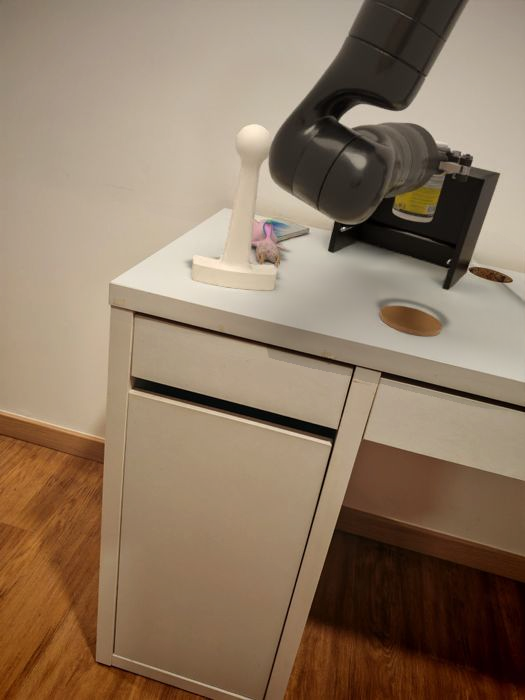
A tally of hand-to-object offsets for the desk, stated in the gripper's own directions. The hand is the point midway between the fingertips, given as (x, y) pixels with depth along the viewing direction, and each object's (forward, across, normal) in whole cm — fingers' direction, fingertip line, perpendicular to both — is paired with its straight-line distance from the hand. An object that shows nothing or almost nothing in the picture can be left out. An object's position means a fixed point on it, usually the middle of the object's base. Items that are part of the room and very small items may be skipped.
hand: (434, 154), depth 76 cm
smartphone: (+10, +26, +20) cm, 34 cm away
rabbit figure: (-1, +22, +20) cm, 30 cm away
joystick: (-15, +18, +20) cm, 31 cm away
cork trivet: (-9, -5, +20) cm, 22 cm away
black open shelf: (+16, +5, +20) cm, 26 cm away
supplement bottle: (-3, 0, +8) cm, 9 cm away
